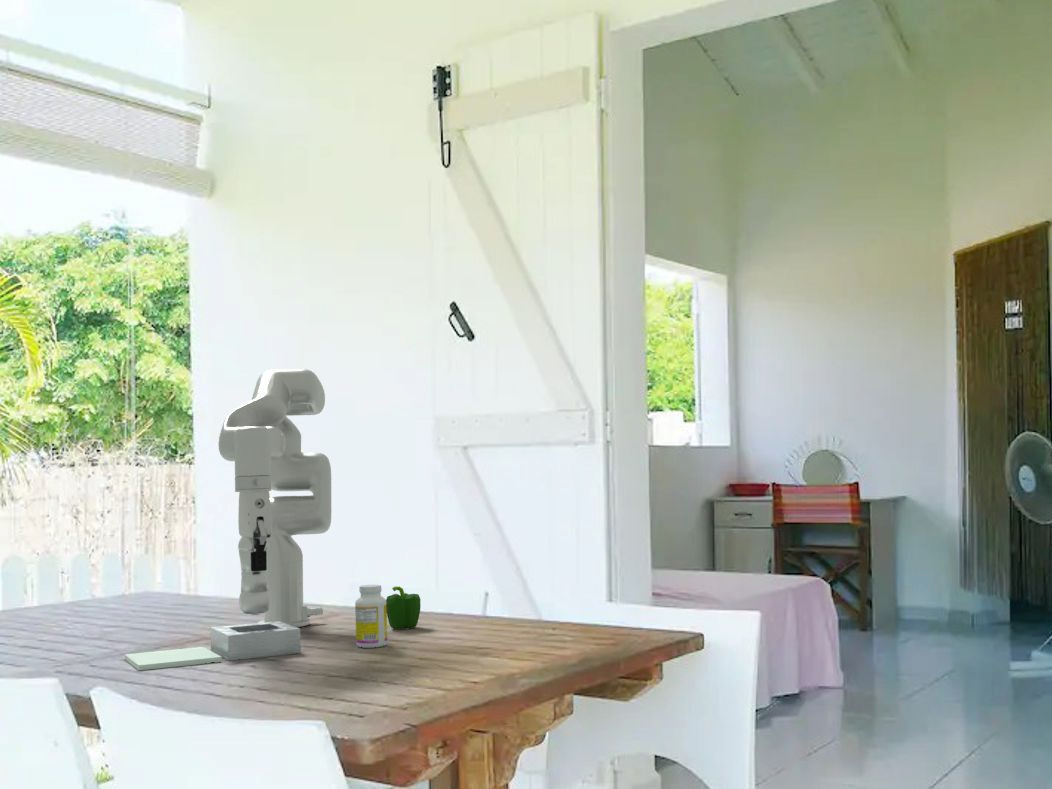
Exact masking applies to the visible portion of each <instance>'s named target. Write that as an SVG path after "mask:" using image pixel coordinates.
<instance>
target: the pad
mask: <svg viewBox="0 0 1052 789" xmlns="http://www.w3.org/2000/svg"><path fill="white" fill-rule="evenodd" d="M222 659H223V657H221V656H219V655H217V654H216V653H214V652H212V651H211V649H208V648H207V647H204V646H198V647H197V646H196V647H186V648H176V649H166V650H157V651H147V652H146V651H145V652H136V653H126V654H124V660H125V661H126V662H127V663H129V665H131V666H132V667H134V668H135V669H136V670H138V671H148V670H156V669H167V668H175V667H185V666H195V665H205V663H206V664H212V663H211V662H215V663H222Z"/></svg>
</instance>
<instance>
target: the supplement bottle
mask: <svg viewBox="0 0 1052 789" xmlns="http://www.w3.org/2000/svg"><path fill="white" fill-rule="evenodd" d="M358 591H359V594H360V597H358V598H357V599H356V600H355V603H354V606H355V607H354V609H355V641H356V642H355V643H356V646H357V647H358V648H361V647H362V649H363V648H364V649H375V647H376V648H380V647H381V648H382V647H385V646H386V645H388V621H387V620H388V617H387V609H386V599H387V598H385V597H384V596H382V595H381V592H382V584H363V585H360V586H359V590H358Z"/></svg>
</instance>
